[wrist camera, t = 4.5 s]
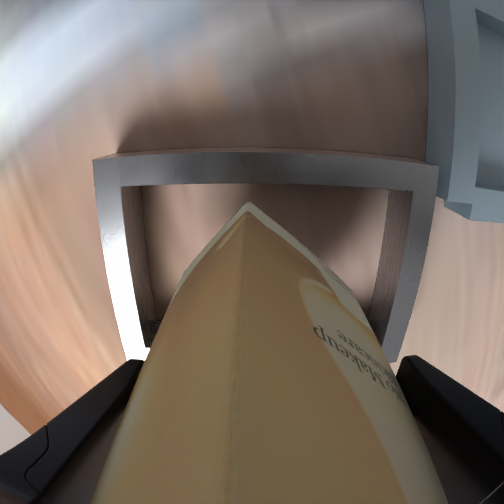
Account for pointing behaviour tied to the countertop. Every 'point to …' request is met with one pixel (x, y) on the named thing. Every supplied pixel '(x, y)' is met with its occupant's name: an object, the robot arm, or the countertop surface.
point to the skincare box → (266, 390)
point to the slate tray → (467, 105)
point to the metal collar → (263, 172)
